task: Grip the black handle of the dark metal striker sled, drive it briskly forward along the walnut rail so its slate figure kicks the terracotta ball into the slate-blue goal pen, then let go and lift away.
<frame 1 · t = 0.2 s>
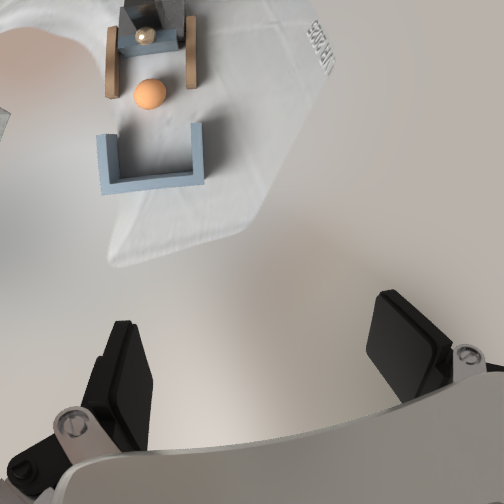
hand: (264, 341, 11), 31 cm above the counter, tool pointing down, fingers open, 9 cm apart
ball: (150, 94, 31), point 2 cm above the counter
sled: (146, 17, 25), point 6 cm above the counter, slide at 0.0 cm
rail: (152, 58, 31), on the counter
goal: (154, 152, 36), on the counter
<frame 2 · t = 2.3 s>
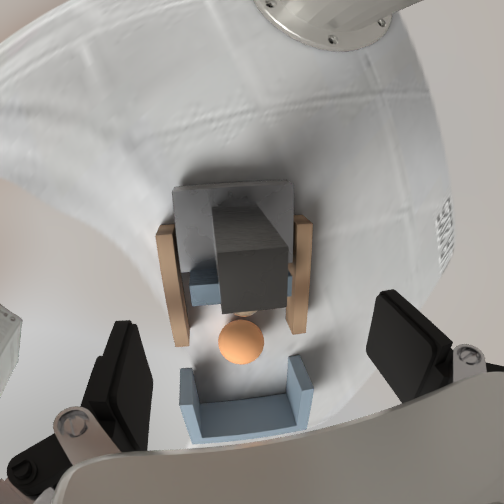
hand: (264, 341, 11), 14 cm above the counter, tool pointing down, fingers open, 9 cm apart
ball: (241, 342, 26), point 2 cm above the counter
skincare box: (3, 330, 24), on the counter
sled: (241, 258, 19), point 6 cm above the counter, slide at 0.0 cm
rail: (235, 276, 25), on the counter
goal: (242, 382, 30), on the counter
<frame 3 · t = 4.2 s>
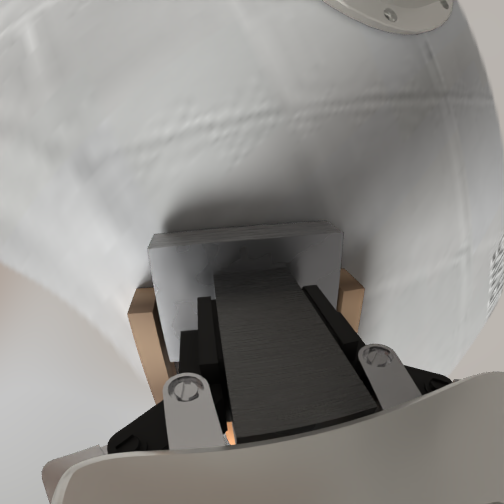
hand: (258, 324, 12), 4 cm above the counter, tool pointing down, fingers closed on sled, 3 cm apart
sled: (265, 363, 11), point 5 cm above the counter, slide at 0.0 cm, touching gripper
rail: (247, 352, 18), on the counter
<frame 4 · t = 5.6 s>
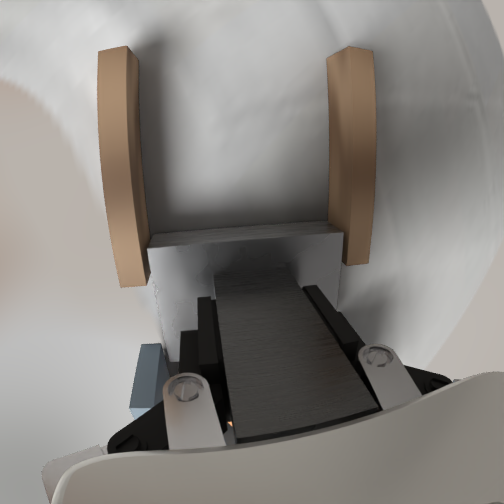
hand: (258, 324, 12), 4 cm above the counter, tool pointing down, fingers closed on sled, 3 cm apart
sled: (265, 363, 11), point 6 cm above the counter, slide at 11.4 cm, touching gripper
rail: (238, 154, 13), on the counter
goal: (248, 372, 18), on the counter
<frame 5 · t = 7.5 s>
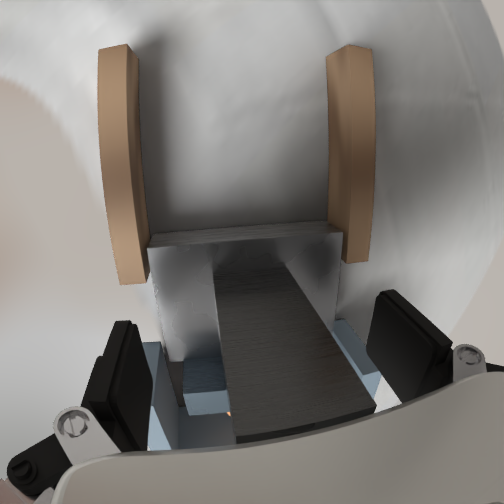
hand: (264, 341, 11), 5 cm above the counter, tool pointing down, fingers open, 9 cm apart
sled: (265, 362, 11), point 5 cm above the counter, slide at 11.5 cm
rail: (238, 152, 13), on the counter
goal: (248, 370, 18), on the counter
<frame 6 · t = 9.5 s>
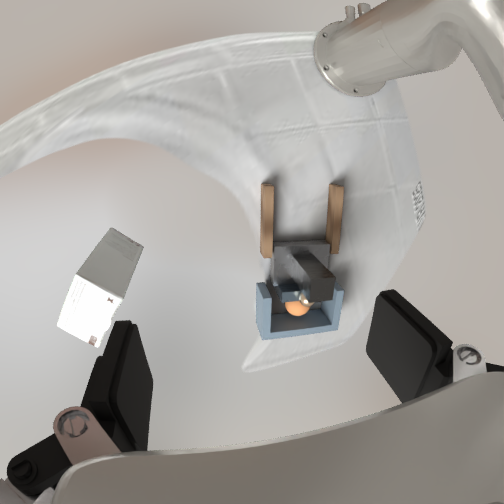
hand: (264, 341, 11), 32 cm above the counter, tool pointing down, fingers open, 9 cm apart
ball: (297, 303, 46), point 2 cm above the counter, tilted 155°
skincare box: (116, 259, 41), on the counter
sled: (308, 279, 41), point 5 cm above the counter, slide at 11.5 cm
rail: (299, 217, 44), on the counter
goal: (294, 296, 48), on the counter
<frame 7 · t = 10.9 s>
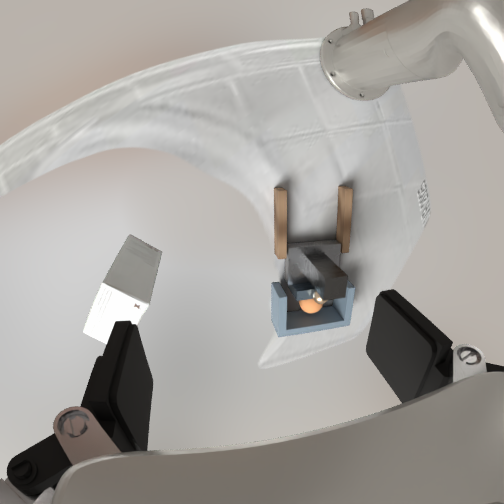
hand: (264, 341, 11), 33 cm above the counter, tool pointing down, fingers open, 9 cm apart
ball: (311, 301, 48), point 2 cm above the counter, tilted 153°
skincare box: (135, 264, 44), on the counter
sled: (321, 278, 43), point 5 cm above the counter, slide at 11.5 cm
rail: (310, 219, 45), on the counter
goal: (307, 294, 50), on the counter
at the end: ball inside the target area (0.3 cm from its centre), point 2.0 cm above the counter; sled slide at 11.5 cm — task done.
